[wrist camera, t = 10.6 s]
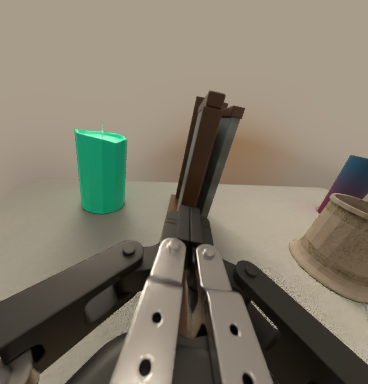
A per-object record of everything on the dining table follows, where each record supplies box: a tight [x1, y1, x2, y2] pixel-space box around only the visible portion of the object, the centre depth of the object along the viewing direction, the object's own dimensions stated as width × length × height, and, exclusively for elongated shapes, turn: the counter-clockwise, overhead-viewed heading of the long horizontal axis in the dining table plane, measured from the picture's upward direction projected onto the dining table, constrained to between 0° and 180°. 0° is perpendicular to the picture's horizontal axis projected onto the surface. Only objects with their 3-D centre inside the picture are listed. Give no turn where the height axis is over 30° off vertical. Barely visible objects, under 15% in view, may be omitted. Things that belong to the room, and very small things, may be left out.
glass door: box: [177, 91, 225, 211], centre depth 17 cm, size 1×11×14 cm, turn 178°
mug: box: [289, 193, 368, 303], centre depth 21 cm, size 14×10×12 cm
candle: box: [74, 122, 127, 214], centre depth 22 cm, size 6×6×12 cm
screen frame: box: [160, 96, 245, 336], centre depth 15 cm, size 6×22×18 cm, turn 178°
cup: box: [318, 155, 368, 213], centre depth 36 cm, size 7×7×15 cm
